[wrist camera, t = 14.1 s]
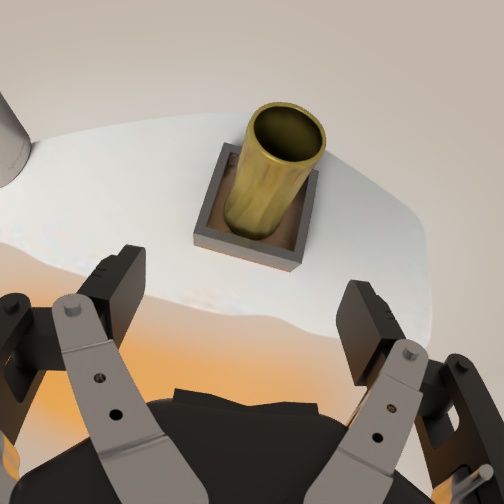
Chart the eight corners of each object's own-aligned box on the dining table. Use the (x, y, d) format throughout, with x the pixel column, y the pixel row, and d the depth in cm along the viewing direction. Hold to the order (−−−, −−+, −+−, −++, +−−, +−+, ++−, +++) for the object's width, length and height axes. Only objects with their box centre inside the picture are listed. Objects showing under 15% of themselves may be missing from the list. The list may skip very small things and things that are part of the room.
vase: (240, 175, 34) (266, 84, 20) (291, 202, 34) (344, 124, 20) (212, 221, 32) (224, 142, 19) (266, 250, 32) (314, 189, 19)
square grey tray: (193, 245, 32) (193, 233, 28) (221, 161, 35) (224, 142, 31) (289, 272, 33) (301, 263, 29) (307, 187, 36) (318, 171, 32)
